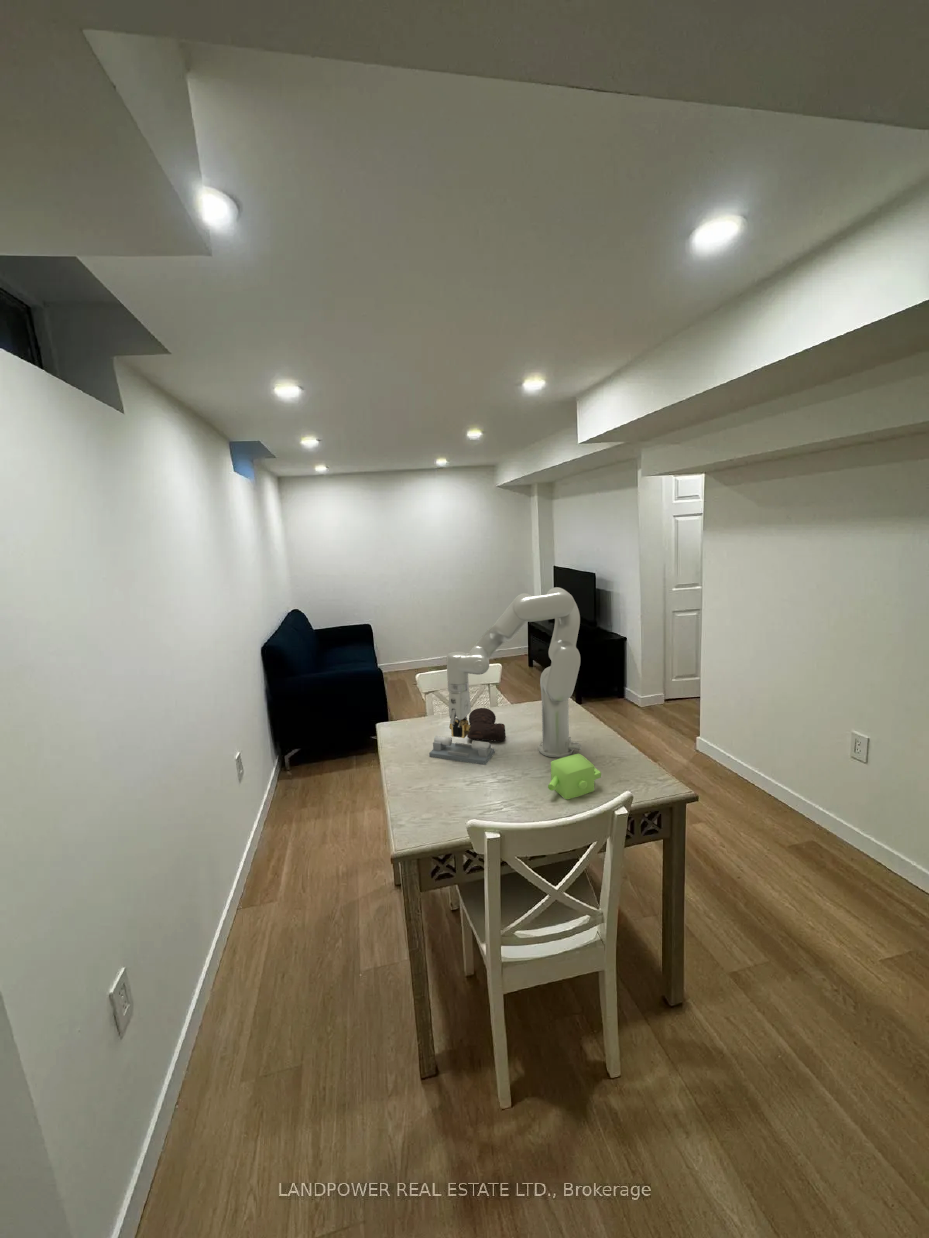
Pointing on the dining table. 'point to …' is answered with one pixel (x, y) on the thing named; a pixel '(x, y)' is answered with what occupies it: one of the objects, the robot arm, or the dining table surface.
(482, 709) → the dark brown l-shaped piece
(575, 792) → the gearbox
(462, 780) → the dining table surface
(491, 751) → the grey fixture base
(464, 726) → the coupler
